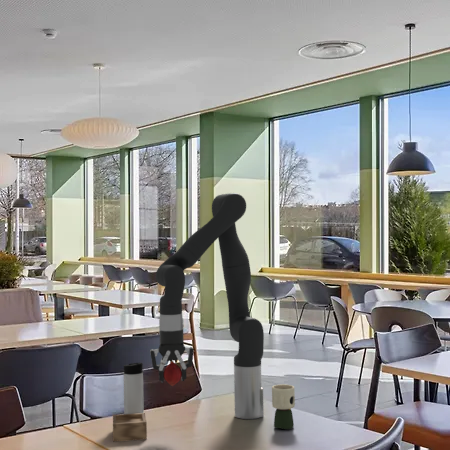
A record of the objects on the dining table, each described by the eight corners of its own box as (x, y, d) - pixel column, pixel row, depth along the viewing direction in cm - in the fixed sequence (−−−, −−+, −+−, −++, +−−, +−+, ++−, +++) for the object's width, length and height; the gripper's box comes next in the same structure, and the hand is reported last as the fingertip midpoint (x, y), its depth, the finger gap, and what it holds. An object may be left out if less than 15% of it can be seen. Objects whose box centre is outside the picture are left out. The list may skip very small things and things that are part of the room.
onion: (183, 383, 206) (182, 358, 206) (180, 388, 201) (179, 362, 201) (165, 383, 207) (164, 358, 207) (162, 388, 201) (161, 362, 201)
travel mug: (134, 427, 207) (133, 365, 207) (120, 424, 211) (119, 363, 211) (148, 423, 212) (147, 361, 212) (134, 419, 216) (133, 359, 216)
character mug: (293, 434, 198) (292, 391, 198) (270, 433, 199) (269, 390, 199) (296, 423, 208) (295, 383, 208) (274, 422, 210) (273, 382, 210)
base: (145, 429, 205) (144, 412, 205) (146, 439, 195) (146, 421, 195) (113, 431, 203) (112, 415, 203) (113, 441, 193) (112, 424, 194)
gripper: (192, 325, 209) (193, 377, 209) (147, 327, 206) (149, 380, 206) (195, 328, 201) (196, 382, 201) (149, 331, 199) (150, 385, 199)
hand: (172, 381), depth 204 cm, fingers closed on onion, 6 cm apart
